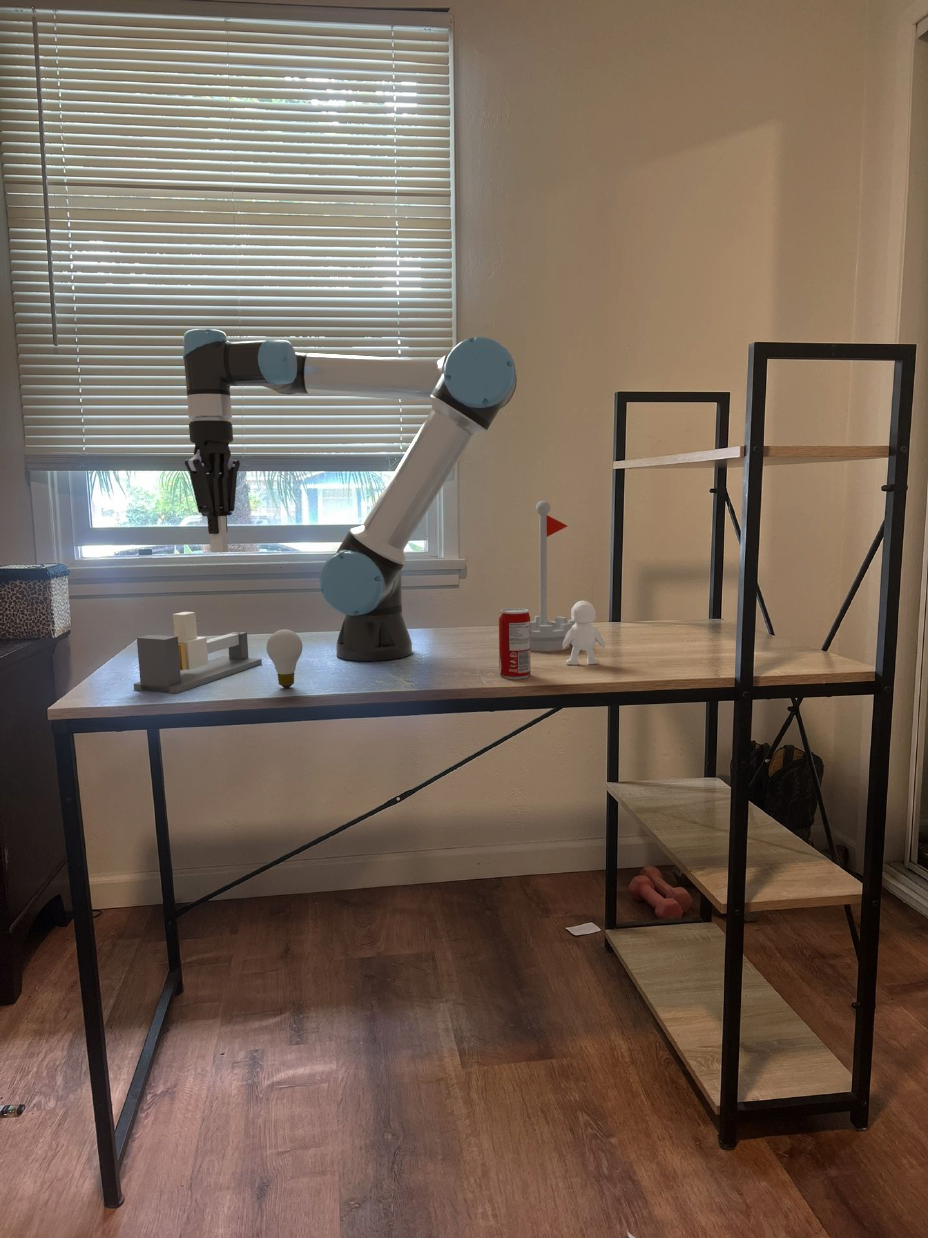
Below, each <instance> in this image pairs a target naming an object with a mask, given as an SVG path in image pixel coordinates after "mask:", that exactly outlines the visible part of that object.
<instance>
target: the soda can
mask: <svg viewBox="0 0 928 1238" xmlns="http://www.w3.org/2000/svg"><path fill="white" fill-rule="evenodd" d="M529 612H530V611H529V609H526V608H521V607H515V608H514V607H513V608H510V607H509V608H502V609H500V613H499V618H498V652H499V653H498V654H499V655H498V657H499V659H498V660H499V661H498V664H499V666H498V670H499V675H500V676H501V677H502V678H504V679H508V680H522V679H521V678H523V679H527V678H528V677H529V676H530V675H531V651H530V622H531V616H530V613H529Z"/></svg>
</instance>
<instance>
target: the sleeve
mask: <svg viewBox="0 0 928 1238" xmlns="http://www.w3.org/2000/svg"><path fill="white" fill-rule="evenodd" d="M196 615H197V613H196V612H195V611H194V612H193V611H181V612H178V613H172V621H173V636H178V644H185V655H186V669H187V670H190V669H193V668H197V667H200V666H203V665H206V664H208V661H209V657H208V654H207V640H208V639H207V637H204V636H198V633H197V631H198V630H197V617H196Z"/></svg>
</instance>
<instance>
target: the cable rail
mask: <svg viewBox="0 0 928 1238" xmlns="http://www.w3.org/2000/svg"><path fill="white" fill-rule="evenodd" d="M248 641H249V640H248V631H247V632H244V631H243V632H242V631H233V632H227V634H223V635H219V636H217V637H216V636H215V637H214V638H213V637H212V638H210V639H207V654H211V653H215V652H218V651H222V650H226V649H228V656H226V655H223V656H219V657H215V658H213V659H208V664H206V665H203V666H200V667H197V668H193V669H190V670H187V669H186V655H185V644H178V636H174V635H160V634H159V635H158V634H146V635H143V636H139V637H136V645H137V658H138V659H137V660H138V669H139V682H134V683H133V690H135V691H136V690H137V691H144V692H145V691H148V692H159V693H169V694H179V693H182V692H185V691H188V690H192V689H193V688H196V687H200V686H202V685H206V684H208V683H210V682H214V681H216V680H220V679H223V678H225V677H228V676H232V675H234V674H237V673H240V672H243V671H246V670H248V669H251V668H254V667H257V666H259V665H262V663H263V660H262V659H263V658H253V657H249V644H248Z"/></svg>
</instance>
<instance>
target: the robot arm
mask: <svg viewBox="0 0 928 1238" xmlns="http://www.w3.org/2000/svg"><path fill="white" fill-rule="evenodd" d="M182 340H183V356H182V359H183V364H184V374H185V375H184V376H185V386H186V398H187V411H188V412H187V413H188V418H189V419H190V420H192V421H189V423H188V429H189V431H188V432H189V441H190V443H192V444H194V449H193V456H192V457H191V458H190V459H185V461H184V465H185V467H186V468H187V471H188V473H189V477H190V480H191V481H190V482H191V486H192V489H193V494H194V498H195V503H196V507H197V511H198V513H200V514H201V516H202V517H206V518H207V531H208V534H209V541H210V542H209V544H210V546H209V547H210V552H211V553H227V552H229V544H228V543H229V542H228V530H229V529H228V519H227V517H228V516H232V514H233V512H234V511H235V506H236V504H235V503H236V493H237V492H236V491H237V480H238V471H239V468H240V465H241V462H240V460H239V459H237V460H235V459H234V458H233V457H232V455H231V454H232V453H231V450H230V446H229V444H231V443H233V441H234V431H233V423H232V422H231V421H230V419H232V418H233V411H232V400H231V386H235V387H239V386H260V387H264V388H267V389H268V390H269V389H270V390H273V391H275V392H276V393H279V394H282V395H290V396H291V395H296V394H304V395H305V394H308V395H309V394H310V395H321V396H322V395H323V396H324V395H326V396H341V397H342V396H343V397H356V398H358V397H359V398H374V399H386V400H387V399H388V400H389V399H390V400H391V399H392V400H404V401H406V400H407V401H417V402H418V401H420V402H430V403H431V410H430V412H429V413H428V415H427V417H426V418H425V420H424V421H423V424H422V425H421V427H420V428H419V430H418V432H416V435H415V437H414V438H413V440H412V441H411V444H410V445H409V447H408V448H407V450H406V452H404V453H405V454H404V455H403V457H402V458H401V460H400V461H399V463H398V465H397V467H396V469H394V472H393V473H392V476H391V477H390V479H389V481H388V482H387V484H386V485H385V487H384V489H383V490H382V492H381V494H380V495H379V497H378V498H377V500H376V502H375V503H374V505H373V507H372V509H371V510H370V512H369V513H368V515H367V517H366V518H365V520H364V522H363V523H362V525H360V526H359V525H358V526H355V527H351V528H350V529H349V530H348V531H347V534H346V535H345V537H344V538H343V540H342V542H341V544H340V545H339V547H338V549H337V551H336V553H334V554H332V555H331V556H330V557H329V558H328V559H327V560H326V561H325V562H324V564H323V565H322V567H321V569H320V573H319V579H318V583H319V585H318V586H319V589H320V593H321V595H322V597H323V599H324V601H325V602H326V603H327V605H328V606H329V607H331V608H332V609H333V610H334V611H336V612H338V613H340V614H342V615H343V620H342V623H341V627H340V629H339V630H340V631H339V635H338V638H337V641H336V645H335V646H336V656H337V657H338V658H340V659H342V660H348V661H358V662H359V661H360V662H364V661H365V662H373V661H374V662H375V661H389V660H395V659H397V660H398V659H400V658H405V657H408V656H410V655H411V654H412V653H413V642H412V639H411V636H410V632H409V630H408V627H407V625H406V623H405V622H406V621H405V618H404V616H403V598H402V597H403V591H402V569H403V568H404V566H405V564H406V562H407V561H406V557H405V553H404V552H405V551H404V550H405V548H406V547H407V546H408V543H409V542H410V540H411V538H412V536H413V535H414V534H415V532H416V530H417V529H418V528H419V525H420V524H421V523H422V520H423V519H424V518H425V516H426V514H427V513H428V511H429V509H430V507H431V506H432V504H433V503H434V501H435V499H436V498H437V496H438V495H439V493H440V492H441V489H442V488H443V486H444V484H446V481H448V479H449V476H450V475H451V474H452V472H453V470H454V468H455V467H456V465H457V463H458V462H459V460H460V458H461V457H462V455H463V453H464V452H465V450H466V448H467V447H468V446H469V444H470V443H471V441H472V439H473V437H474V436H476V435H479V434H484V433H486V432H487V431H488V430H489V428H490V427H491V425H492V422H493V421H494V419H496V417H497V415H498V413H499V411H501V410H502V409H503V408H504V407H506V406H507V405H508V404H509V402H510V401H511V400H512V398H513V396H514V394H515V392H516V388H517V372H516V371H517V370H516V365H515V361H514V359H513V357H512V355H511V353H510V352H509V350H508V349H507V348H506V347H505V346H503V345H502V344H501V343H500V342H499V341H497V340H495V339H492V338H489V337H486V336H474V337H469V338H467V339H463V340H462V341H460V342H459V343H458V344H456V346H454V347H453V348H452V349H451V351H450V353H449V354H445V355H443V356H442V357H441V358H440V359H438V360H437V359H422V358H421V359H420V358H419V359H417V358H402V357H399V358H397V357H386V356H385V357H384V356H383V357H381V356H365V355H346V354H329V353H328V354H327V353H313V352H309V353H308V352H307V353H306V352H296V350H295V349H294V346H293V344H292V343H291V342H290V341H288V340H287V339H286V340H284V339H281V340H280V339H273V338H271V339H270V338H268V339H267V340H266V339H265V340H244V341H230V340H228V339H227V334H226V333H225V332H224V331H222V330H219V329H212V328H207V329H206V328H195V329H190V330H187V331H186V332H185V333H184V335H183V339H182Z"/></svg>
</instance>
